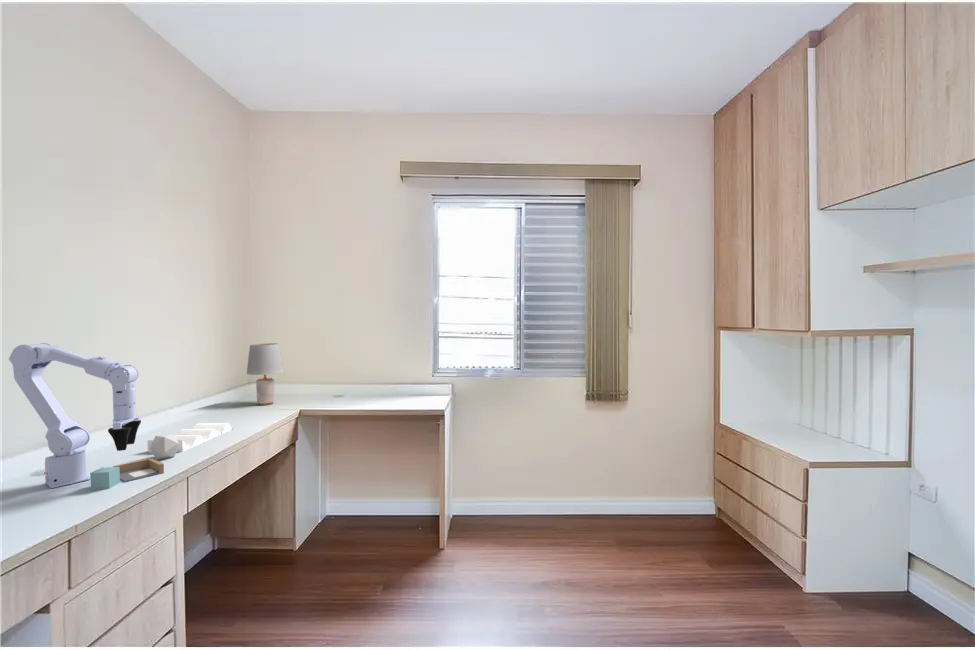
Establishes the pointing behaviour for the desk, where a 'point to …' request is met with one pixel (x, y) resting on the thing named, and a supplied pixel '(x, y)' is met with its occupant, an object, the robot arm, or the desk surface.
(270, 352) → the lamp
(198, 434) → the file organizer
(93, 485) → the cube
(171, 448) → the die
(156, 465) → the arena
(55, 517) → the desk surface
